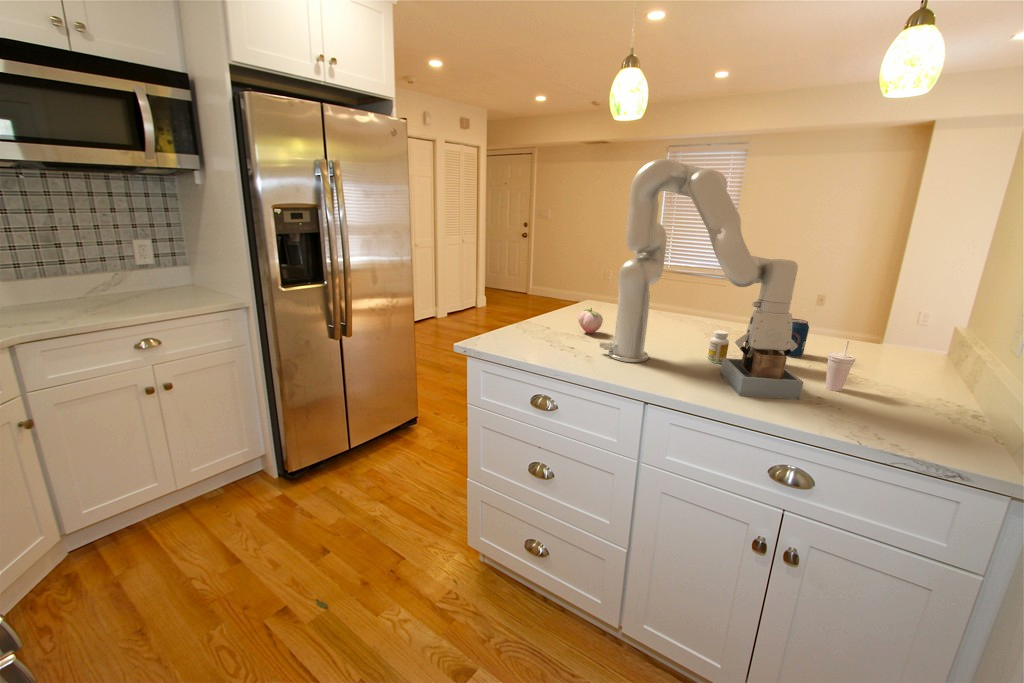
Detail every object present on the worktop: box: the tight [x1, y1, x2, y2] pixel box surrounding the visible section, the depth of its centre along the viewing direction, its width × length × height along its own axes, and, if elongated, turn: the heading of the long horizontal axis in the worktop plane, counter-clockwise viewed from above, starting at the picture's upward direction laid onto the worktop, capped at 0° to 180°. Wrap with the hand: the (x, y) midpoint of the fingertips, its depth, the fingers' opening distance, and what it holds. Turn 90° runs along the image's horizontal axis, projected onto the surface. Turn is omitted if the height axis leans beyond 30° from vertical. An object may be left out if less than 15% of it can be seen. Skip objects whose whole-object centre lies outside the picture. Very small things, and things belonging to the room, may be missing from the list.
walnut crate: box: [741, 342, 788, 379], centre depth 125 cm, size 6×11×7 cm, turn 174°
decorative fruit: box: [578, 307, 604, 334], centre depth 172 cm, size 9×8×10 cm
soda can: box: [786, 318, 810, 358], centre depth 154 cm, size 7×7×12 cm
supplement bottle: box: [707, 330, 730, 365], centre depth 146 cm, size 5×5×10 cm
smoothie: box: [824, 340, 857, 392], centre depth 125 cm, size 6×6×14 cm
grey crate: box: [720, 357, 804, 401], centre depth 127 cm, size 15×16×5 cm
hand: (761, 370), depth 126 cm, fingers closed on walnut crate, 6 cm apart
